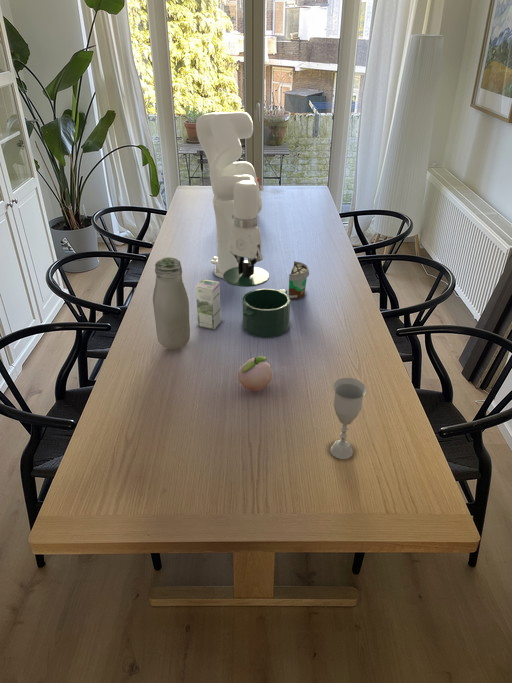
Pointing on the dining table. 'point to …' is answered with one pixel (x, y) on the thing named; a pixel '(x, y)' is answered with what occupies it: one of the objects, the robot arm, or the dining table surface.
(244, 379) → the decorative fruit
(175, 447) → the dining table surface
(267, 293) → the pot
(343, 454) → the chalice
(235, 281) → the lid
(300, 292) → the food container
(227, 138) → the robot arm
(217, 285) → the syrup box
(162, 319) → the glass bottle
